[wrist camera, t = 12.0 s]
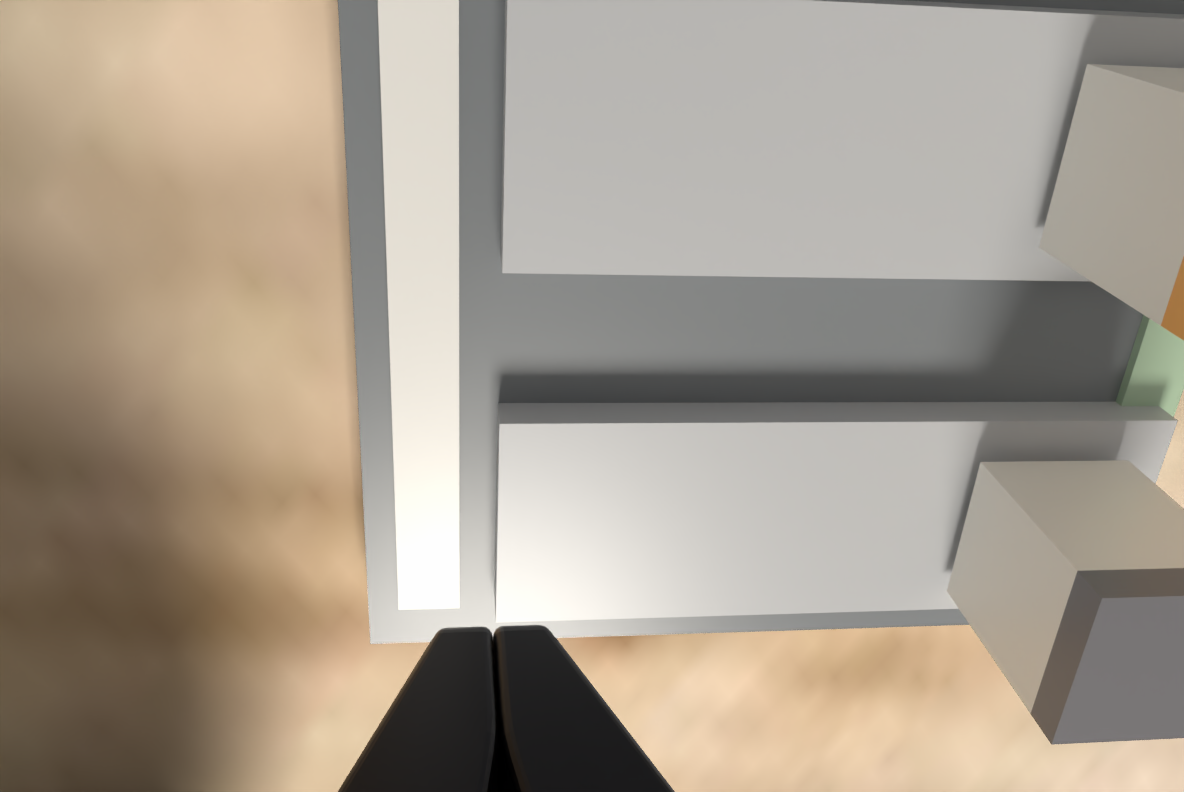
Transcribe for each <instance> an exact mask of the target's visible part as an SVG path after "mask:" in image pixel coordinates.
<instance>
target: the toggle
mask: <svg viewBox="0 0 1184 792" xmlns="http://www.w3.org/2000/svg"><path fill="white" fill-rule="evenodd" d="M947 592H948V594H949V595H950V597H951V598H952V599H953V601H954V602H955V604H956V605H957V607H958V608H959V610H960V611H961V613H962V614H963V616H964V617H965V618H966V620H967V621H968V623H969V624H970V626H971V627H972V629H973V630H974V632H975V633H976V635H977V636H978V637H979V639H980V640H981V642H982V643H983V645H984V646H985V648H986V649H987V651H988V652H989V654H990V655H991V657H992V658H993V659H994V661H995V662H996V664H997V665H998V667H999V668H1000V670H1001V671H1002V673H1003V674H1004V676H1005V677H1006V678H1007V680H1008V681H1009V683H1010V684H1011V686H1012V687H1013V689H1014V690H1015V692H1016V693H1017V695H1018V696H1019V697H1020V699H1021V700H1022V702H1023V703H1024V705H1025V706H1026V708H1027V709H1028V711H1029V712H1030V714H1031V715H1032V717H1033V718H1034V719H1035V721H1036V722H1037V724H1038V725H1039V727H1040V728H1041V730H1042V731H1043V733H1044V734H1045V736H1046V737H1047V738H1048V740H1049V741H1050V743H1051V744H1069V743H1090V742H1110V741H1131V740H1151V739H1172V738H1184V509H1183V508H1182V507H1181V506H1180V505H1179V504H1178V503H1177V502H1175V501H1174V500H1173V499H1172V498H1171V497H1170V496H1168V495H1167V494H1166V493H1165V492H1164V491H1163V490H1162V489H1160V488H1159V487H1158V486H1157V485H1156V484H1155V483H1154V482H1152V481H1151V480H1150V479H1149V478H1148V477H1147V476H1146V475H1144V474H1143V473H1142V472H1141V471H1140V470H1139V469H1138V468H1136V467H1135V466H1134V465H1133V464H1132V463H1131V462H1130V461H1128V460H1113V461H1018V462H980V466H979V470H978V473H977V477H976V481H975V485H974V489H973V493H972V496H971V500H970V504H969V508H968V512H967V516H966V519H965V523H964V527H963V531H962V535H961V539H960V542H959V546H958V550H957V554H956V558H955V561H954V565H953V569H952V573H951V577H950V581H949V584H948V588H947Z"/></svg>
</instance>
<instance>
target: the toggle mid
mask: <svg viewBox="0 0 1184 792" xmlns="http://www.w3.org/2000/svg"><path fill="white" fill-rule="evenodd" d="M1039 248H1040V249H1042V250H1043V251H1045V252H1046V253H1048V254H1050V255H1051V256H1053V257H1054V258H1056V259H1057V260H1059V261H1060V262H1062V263H1064V264H1065V265H1067V266H1068V267H1070V268H1071V269H1073V270H1074V271H1076V272H1078V273H1079V274H1081V275H1082V276H1084V277H1085V278H1087V279H1089V280H1090V281H1092V282H1093V283H1095V284H1096V285H1098V286H1099V287H1101V288H1103V289H1104V290H1106V291H1107V292H1109V293H1110V294H1112V295H1113V296H1115V297H1117V298H1118V299H1120V300H1121V301H1123V302H1124V303H1126V304H1127V305H1129V306H1131V307H1132V308H1134V309H1135V310H1137V311H1138V312H1140V313H1142V314H1143V315H1145V316H1146V317H1148V318H1149V319H1151V320H1152V321H1154V322H1156V323H1157V324H1159V325H1160V326H1162V327H1163V328H1165V329H1166V330H1168V331H1170V332H1171V333H1173V334H1174V335H1176V336H1177V337H1179V338H1181V339H1182V340H1184V68H1168V67H1145V66H1122V65H1099V64H1087V66H1086V70H1085V74H1084V77H1083V81H1082V85H1081V89H1080V93H1079V97H1078V100H1077V104H1076V108H1075V112H1074V116H1073V119H1072V123H1071V127H1070V131H1069V135H1068V138H1067V142H1066V146H1065V150H1064V154H1063V157H1062V161H1061V165H1060V169H1059V173H1058V177H1057V180H1056V184H1055V188H1054V192H1053V196H1052V199H1051V203H1050V207H1049V211H1048V215H1047V218H1046V222H1045V226H1044V230H1043V234H1042V238H1041V241H1040V245H1039Z"/></svg>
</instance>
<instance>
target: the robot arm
mask: <svg viewBox="0 0 1184 792" xmlns="http://www.w3.org/2000/svg"><path fill="white" fill-rule="evenodd" d="M338 792H674V790H673V789H672V788H671V786H670V785H669V784H668V782H667V781H666V780H665V779H664V777H663V776H662V775H661V773H660V772H659V771H658V770H657V768H656V767H655V766H654V764H653V763H652V762H651V760H650V759H649V758H648V757H647V755H646V754H645V753H644V751H643V750H642V749H641V748H640V746H639V745H638V744H637V742H636V741H635V740H634V738H633V737H632V736H631V735H630V733H629V732H628V731H627V729H626V728H625V727H624V726H623V724H622V723H621V722H620V720H619V719H618V718H617V716H616V715H615V714H614V713H613V711H612V710H611V709H610V707H609V706H608V705H607V704H606V702H605V701H604V700H603V698H602V697H601V696H600V694H599V693H598V692H597V691H596V689H595V688H594V687H593V685H592V684H591V683H590V682H589V680H588V679H587V678H586V676H585V675H584V674H583V672H582V671H581V670H580V669H579V667H578V666H577V665H576V663H575V662H574V661H573V660H572V658H571V657H570V656H569V654H568V653H567V652H566V650H565V649H564V648H563V647H562V645H561V644H560V643H559V641H558V640H557V639H556V638H555V636H554V635H553V634H552V632H551V631H550V630H549V629H548V628H547V627H545V626H543V625H515V626H500V627H498V628H497V629H496V630H495V632H494V634H493V636H492V632H491V631H490V629H488V628H487V627H483V626H482V627H448V628H443V629H441V630H439V631H438V632H437V633H436V634H435V636H434V637H433V639H432V640H431V642H430V643H429V645H428V647H427V648H426V650H425V652H424V653H423V655H422V656H421V658H420V660H419V661H418V663H417V665H416V666H415V668H414V669H413V671H412V673H411V674H410V676H409V677H408V679H407V681H406V682H405V684H404V686H403V687H402V689H401V690H400V692H399V694H398V695H397V697H396V698H395V700H394V702H393V703H392V705H391V707H390V708H389V710H388V711H387V713H386V715H385V716H384V718H383V719H382V721H381V723H380V724H379V726H378V728H377V729H376V731H375V732H374V734H373V736H372V737H371V739H370V740H369V742H368V744H367V745H366V747H365V749H364V750H363V752H362V753H361V755H360V757H359V758H358V760H357V761H356V763H355V765H354V766H353V768H352V770H351V771H350V773H349V774H348V776H347V778H346V779H345V781H344V783H343V784H342V786H341V787H340V789H339V791H338Z"/></svg>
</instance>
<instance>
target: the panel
mask: <svg viewBox="0 0 1184 792" xmlns="http://www.w3.org/2000/svg"><path fill="white" fill-rule="evenodd" d="M338 11H339V31H340V51H341V71H342V91H343V110H344V130H345V150H346V170H347V190H348V209H349V229H350V249H351V269H352V289H353V308H354V328H355V348H356V368H357V388H358V407H359V427H360V447H361V467H362V487H363V507H364V526H365V546H366V566H367V586H368V606H369V625H370V644H382V643H413V642H431V640H432V639H433V637H434V636H435V634H436V633H437V632H438V631H439V630H441V629H443V628H448V627H482V626H483V627H487V628H488V629H490V631H491V632H492V636H493V634H494V632H495V630H496V629H497V628H498V627H500V626H515V625H543V626H545V627H547V628H548V629H549V630H550V631H551V632H552V634H553V635H554V636H555V638H569V637H600V636H631V635H662V634H693V633H724V632H755V631H786V630H817V629H848V628H879V627H910V626H941V625H970V624H969V623H968V621H967V620H966V618H965V617H964V616H963V614H962V613H961V611H960V610H959V608H958V607H957V605H956V604H955V602H954V601H953V599H952V598H951V597H950V595H949V594H948V592H947V588H948V584H949V581H950V577H951V573H952V569H953V565H954V561H955V558H956V554H957V550H958V546H959V542H960V539H961V535H962V531H963V527H964V523H965V519H966V516H967V512H968V508H969V504H970V500H971V496H972V493H973V489H974V485H975V481H976V477H977V473H978V470H979V466H980V462H1018V461H1113V460H1128V461H1130V462H1131V463H1132V464H1133V465H1134V466H1135V467H1136V468H1138V469H1139V470H1140V471H1141V472H1142V473H1143V474H1144V475H1146V476H1147V477H1148V478H1149V479H1150V480H1151V481H1152V482H1154V483H1155V484H1156V481H1157V478H1158V475H1159V472H1160V469H1161V467H1162V464H1163V461H1164V458H1165V455H1166V452H1167V450H1168V447H1169V444H1170V441H1171V438H1172V435H1173V433H1174V430H1175V427H1176V424H1177V421H1178V420H1177V419H1175V418H1174V415H1175V412H1176V409H1177V406H1178V403H1179V400H1180V397H1181V395H1182V392H1183V389H1184V340H1182V339H1181V338H1179V337H1177V336H1176V335H1174V334H1173V333H1171V332H1170V331H1168V330H1166V329H1165V328H1163V327H1162V326H1160V325H1159V324H1157V323H1156V322H1154V321H1152V320H1151V319H1149V318H1148V317H1146V316H1145V315H1143V314H1142V313H1140V312H1138V311H1137V310H1135V309H1134V308H1132V307H1131V306H1129V305H1127V304H1126V303H1124V302H1123V301H1121V300H1120V299H1118V298H1117V297H1115V296H1113V295H1112V294H1110V293H1109V292H1107V291H1106V290H1104V289H1103V288H1101V287H1099V286H1098V285H1096V284H1095V283H1093V282H1092V281H1090V280H1089V279H1087V278H1085V277H1084V276H1082V275H1081V274H1079V273H1078V272H1076V271H1074V270H1073V269H1071V268H1070V267H1068V266H1067V265H1065V264H1064V263H1062V262H1060V261H1059V260H1057V259H1056V258H1054V257H1053V256H1051V255H1050V254H1048V253H1046V252H1045V251H1043V250H1042V249H1040V248H1039V245H1040V241H1041V238H1042V234H1043V230H1044V226H1045V222H1046V218H1047V215H1048V211H1049V207H1050V203H1051V199H1052V196H1053V192H1054V188H1055V184H1056V180H1057V177H1058V173H1059V169H1060V165H1061V161H1062V157H1063V154H1064V150H1065V146H1066V142H1067V138H1068V135H1069V131H1070V127H1071V123H1072V119H1073V116H1074V112H1075V108H1076V104H1077V100H1078V97H1079V93H1080V89H1081V85H1082V81H1083V77H1084V74H1085V70H1086V66H1087V64H1099V65H1122V66H1145V67H1168V68H1184V0H338Z"/></svg>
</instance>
